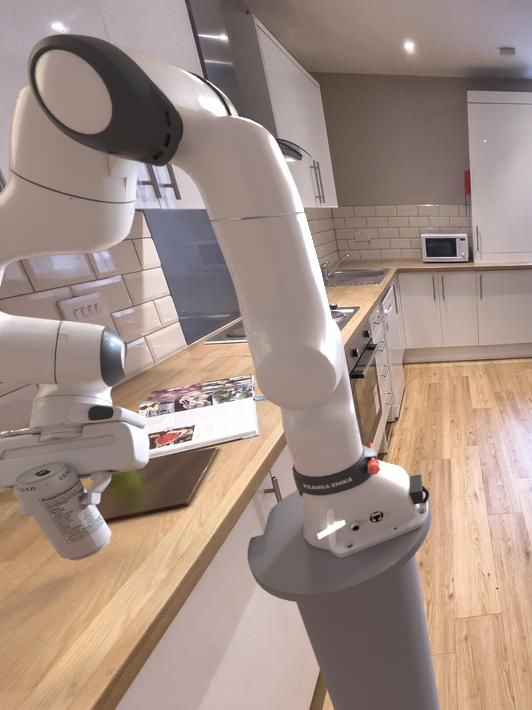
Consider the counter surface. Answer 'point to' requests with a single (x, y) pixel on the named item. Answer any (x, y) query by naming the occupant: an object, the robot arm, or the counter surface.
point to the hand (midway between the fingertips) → (60, 509)
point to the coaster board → (155, 485)
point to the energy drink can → (63, 510)
